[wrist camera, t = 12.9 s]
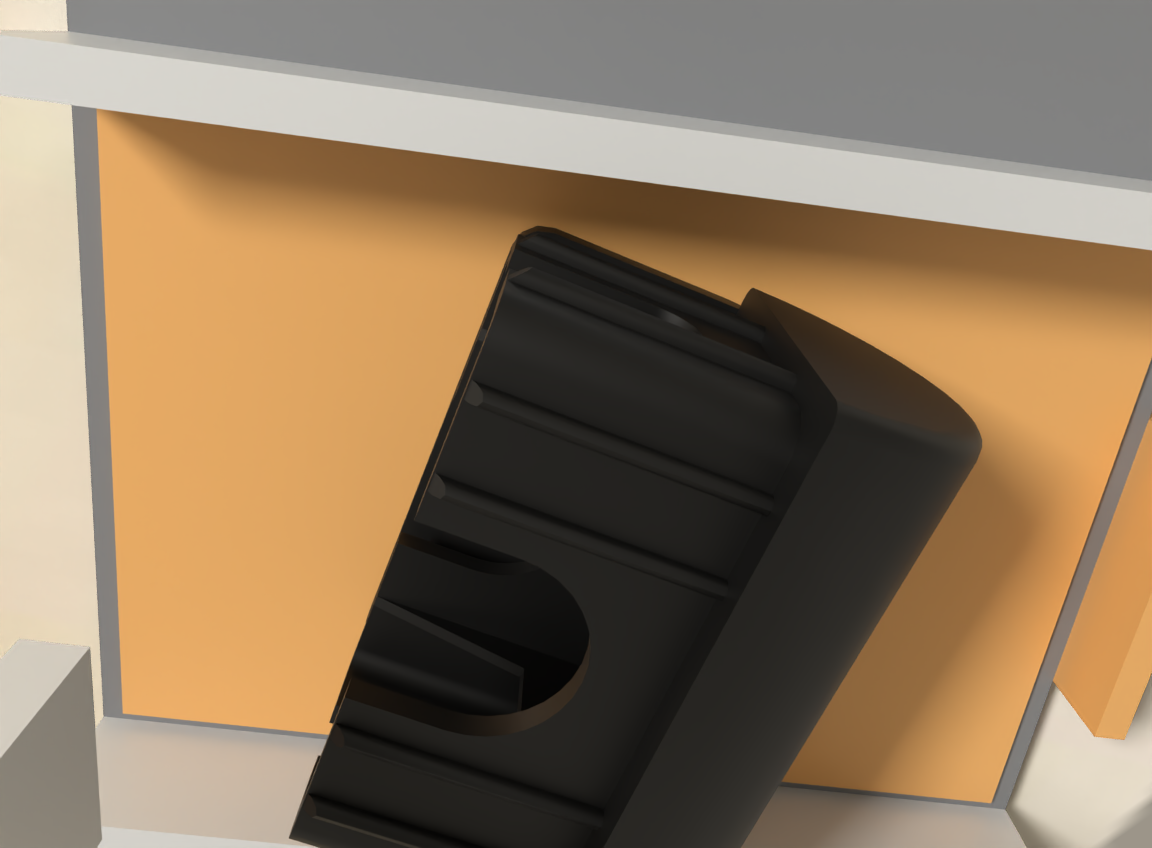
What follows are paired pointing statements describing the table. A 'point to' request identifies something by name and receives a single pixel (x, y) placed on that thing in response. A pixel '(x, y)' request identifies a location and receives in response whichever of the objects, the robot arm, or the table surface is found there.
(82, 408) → the table surface
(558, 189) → the slot rack
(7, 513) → the table surface
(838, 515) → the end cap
